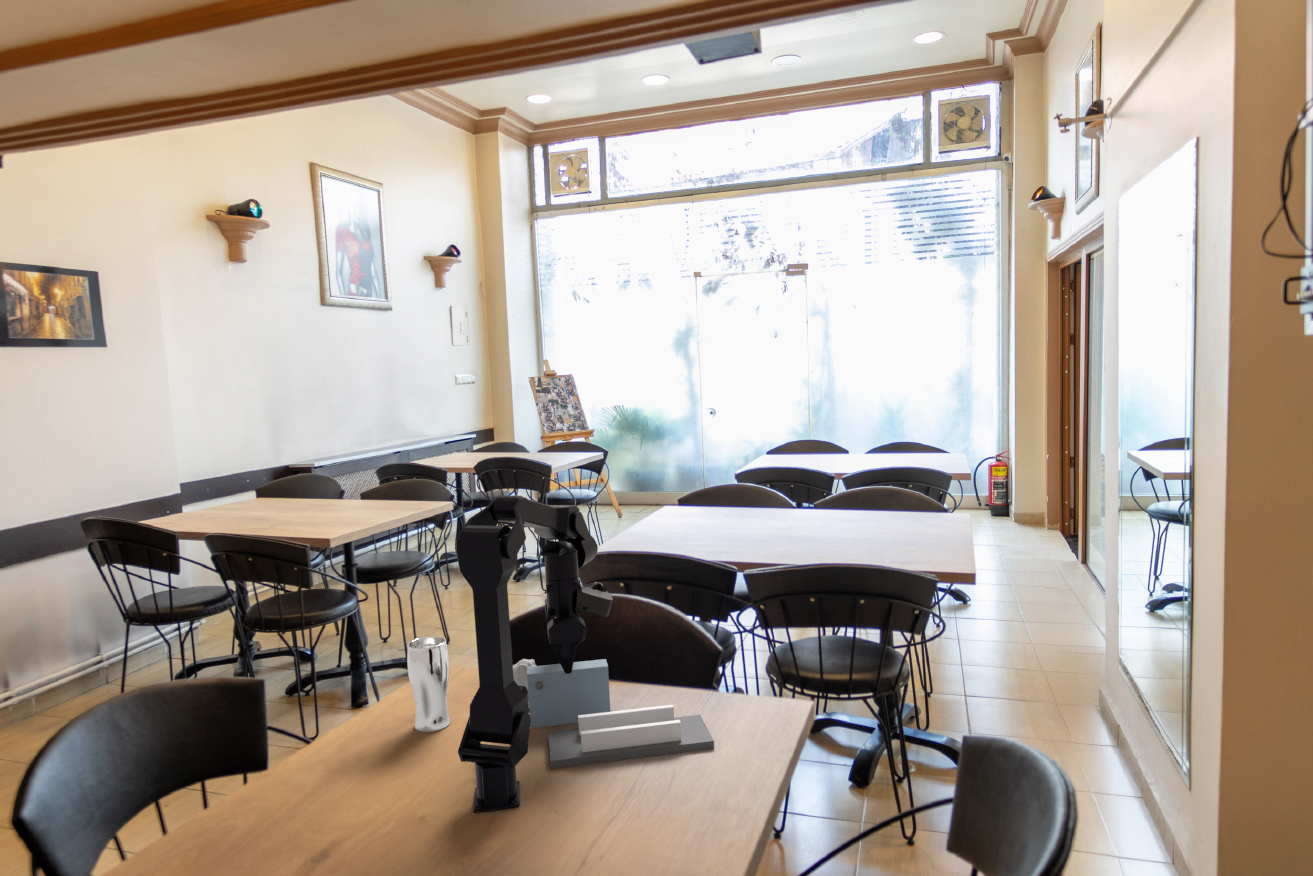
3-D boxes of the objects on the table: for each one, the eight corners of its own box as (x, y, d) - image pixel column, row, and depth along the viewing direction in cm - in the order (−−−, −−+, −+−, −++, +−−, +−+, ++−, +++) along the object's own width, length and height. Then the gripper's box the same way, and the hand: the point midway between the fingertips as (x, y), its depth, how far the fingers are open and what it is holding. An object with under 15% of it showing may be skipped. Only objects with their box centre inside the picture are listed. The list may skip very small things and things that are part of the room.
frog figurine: (527, 704, 149) (525, 667, 148) (499, 697, 152) (497, 661, 152) (548, 692, 154) (546, 656, 153) (520, 685, 158) (518, 651, 157)
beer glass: (441, 734, 138) (435, 649, 136) (404, 732, 139) (398, 648, 138) (459, 717, 144) (454, 636, 143) (424, 715, 146) (418, 635, 144)
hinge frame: (714, 748, 129) (713, 722, 128) (551, 768, 124) (549, 742, 124) (700, 721, 138) (699, 697, 138) (548, 739, 134) (547, 715, 134)
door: (611, 720, 140) (608, 667, 140) (530, 729, 138) (527, 675, 137) (608, 710, 145) (605, 659, 144) (530, 719, 142) (526, 667, 142)
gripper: (614, 586, 132) (618, 678, 133) (602, 560, 150) (606, 641, 151) (546, 592, 130) (551, 686, 131) (542, 565, 148) (547, 647, 149)
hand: (566, 663), depth 141 cm, fingers open, 9 cm apart
